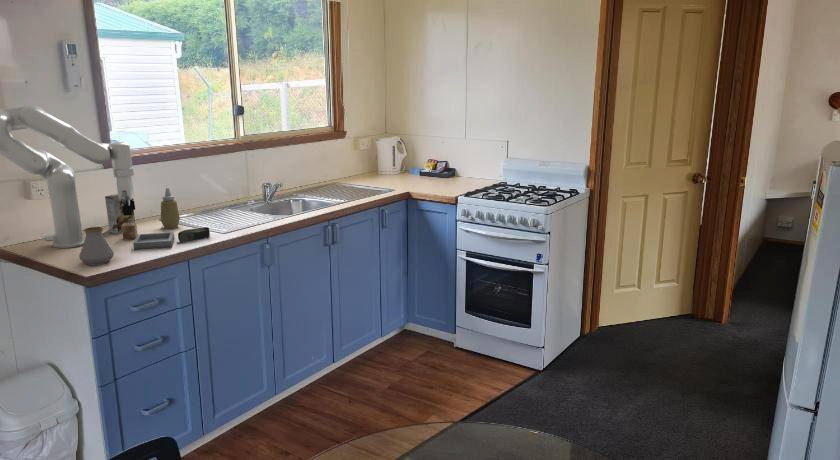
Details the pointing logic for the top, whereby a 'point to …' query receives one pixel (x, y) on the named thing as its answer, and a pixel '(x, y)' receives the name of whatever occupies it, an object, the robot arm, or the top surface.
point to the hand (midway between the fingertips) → (129, 212)
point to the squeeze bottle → (169, 211)
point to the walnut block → (129, 231)
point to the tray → (154, 241)
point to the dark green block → (193, 234)
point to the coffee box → (116, 213)
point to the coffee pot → (97, 245)
